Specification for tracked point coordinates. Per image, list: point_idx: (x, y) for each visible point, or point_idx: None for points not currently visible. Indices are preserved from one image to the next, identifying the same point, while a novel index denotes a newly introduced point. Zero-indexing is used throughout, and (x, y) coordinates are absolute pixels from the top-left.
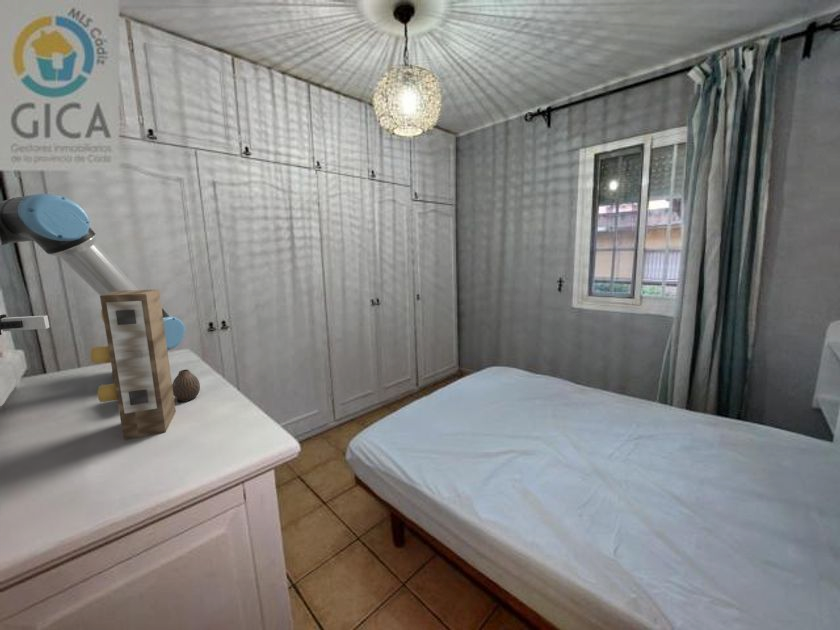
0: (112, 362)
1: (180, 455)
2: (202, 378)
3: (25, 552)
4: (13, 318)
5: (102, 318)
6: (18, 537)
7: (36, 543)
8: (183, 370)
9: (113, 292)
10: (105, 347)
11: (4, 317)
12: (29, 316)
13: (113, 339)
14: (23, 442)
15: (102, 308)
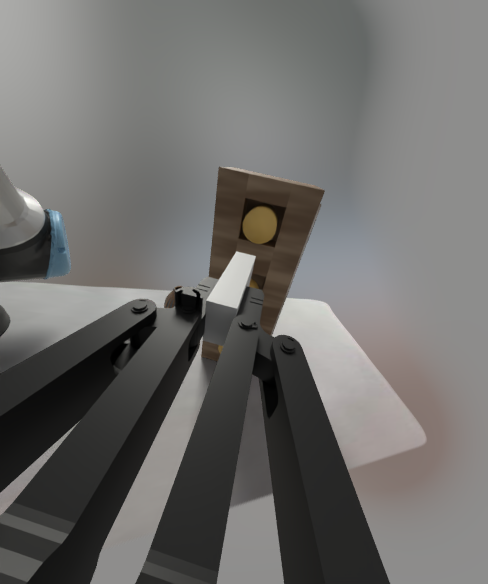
0: (283, 299)
1: (313, 342)
2: (119, 295)
3: (423, 431)
4: (244, 288)
5: (273, 235)
6: (407, 441)
7: (413, 426)
8: (174, 288)
9: (261, 176)
10: (251, 285)
11: (198, 301)
12: (228, 267)
13: (297, 266)
14: (163, 500)
15: (314, 217)
